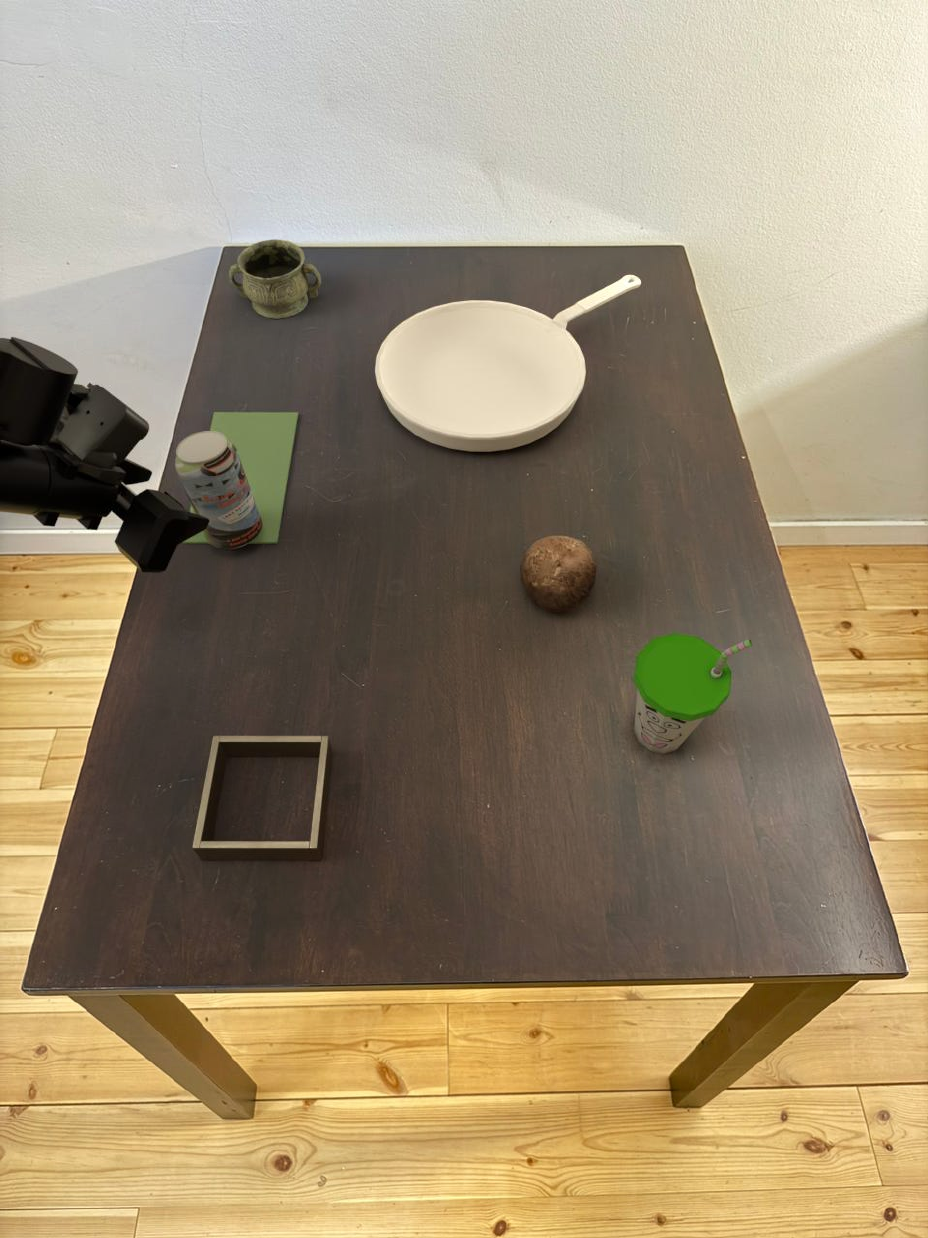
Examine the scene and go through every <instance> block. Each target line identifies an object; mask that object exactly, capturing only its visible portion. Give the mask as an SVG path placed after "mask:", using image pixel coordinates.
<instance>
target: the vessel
mask: <svg viewBox="0 0 928 1238" xmlns="http://www.w3.org/2000/svg"><path fill="white" fill-rule="evenodd" d="M304 262H305V253H304V251H303V249H302V248H301V247H300V246H298V244H296V243H294V242H292V241H289V240H282V239H277V238H276V239H268V240H267V239H266V240H261V241H258V242H255V243H253V244H251V245H249V246H248V247H246V248H244V249H243V250H242V251H241V252H240V254H239V255H238V257H237V263H235V264H231V266H230V268H229V271H228V278H229V281H230V283H231V285H232V286H233V287H234V288H235V289H237V291H238V296H240V297H241V298H248V299H249V300H250V301H251V307H252V309H253V310H254V311H255V312H256V313H257V314H258V315H260V316H262V317H264V318H267V319H274V320H277V319H286V318H287V319H288V318H290V317H292V316H296V315H298V314H299V313H300V312H302V311H304V309H305V308H306V307H307V305H308V303H309V299H308V295H309V297H310V299H311V298H312V299H315V298H317V297H318V296H319V292H318V289H319V288H320V287H321V284H322V277H321V273H320V272H319V270H318V269H317V268H316V267H315V266H314V265H313V264H311V263H304ZM235 274H242V283H239V282H237V281H236V280H235V277H234V276H235ZM309 274H310V275H312V276H314V277H315V283H312V284H310V278H309ZM307 293H308V294H307Z"/></svg>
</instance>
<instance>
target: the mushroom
mask: <svg viewBox="0 0 928 1238" xmlns="http://www.w3.org/2000/svg"><path fill="white" fill-rule="evenodd" d="M597 568H598V567H597V563H596V560H595V556H594V553H593V551H592V550H591V549H590V548H589V547H588V546H587V545H586V544H585V543H584V541H583V540H580V539H576V538H575V537H572V536H569V535H549V536H546V537H542V538H540V539H538V540H537V539H536V540H535V541H534V543H532V544H531V546H530V547H528V549H527V550H525V551H524V554H523V557H522V560H521V562H520V565H519V569H520V570H519V573H520V583H521V584H522V587H523V589H524V592H525V594H526V595H527V596H528V597H529V598H530V599H531V600H532V601H533V603H535V604H536V605H537V606H538V607H541V608H542V609H543V610H545V611H547V612H548V613H567V612H569V611H571V610H574V609H576V608H579V607H581V605H582V604H583V603H585V601H586V600H587V599H588V598H589V597H590V595H591V593H592V591H593V589H594V586H595V584H596V580H597V571H598V570H597Z"/></svg>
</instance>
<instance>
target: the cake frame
mask: <svg viewBox="0 0 928 1238" xmlns="http://www.w3.org/2000/svg"><path fill="white" fill-rule="evenodd" d="M333 751H334V750H333V748H332V744H331V741H330V737H329V736H328V735H213V736H212V740H211V748H210V752H209V756H208V761H207V762H208V763H207V767H206V772H205V778H204V783H203V788H202V795H201V798H200V799H201V800H200V805H199V810H198V815H197V821H196V826H195V832H194V837H193V841H192V850H193V851H194V852H195V853H196V855H197V856H198V857H199V859H200V860H201V861H322V860H323V853H324V844H325V843H324V842H325V834H326V833H325V832H326V823H327V813H328V802H329V794H330V793H329V792H330V781H331V771H332V763H333V761H332V760H333ZM227 757H228V758H229V757H231V758H233V757H239V758H241V757H247V758H248V757H249V758H253V757H254V758H255V757H256V758H257V757H261V758H262V757H263V758H265V757H267V758H268V757H269V758H270V757H271V758H273V757H275V758H276V757H279V758H281V757H282V758H285V757H287V758H288V757H289V758H290V757H291V758H292V757H294V758H297V757H299V758H301V757H302V758H303V757H305V758H307V757H308V758H311V757H312V758H316V757H317V758H318V767H317V776H316V786H315V795H314V803H313V813H312V814H313V815H312V822H311V832H310V839H309V840H298V841H297V840H213V838H214V837H213V836H214V831H215V825H216V820H217V813H218V809H219V802H220V797H221V792H222V785H223V779H224V774H225V769H226V768H225V767H226V763H227Z"/></svg>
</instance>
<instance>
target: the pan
mask: <svg viewBox="0 0 928 1238" xmlns="http://www.w3.org/2000/svg"><path fill="white" fill-rule="evenodd" d="M641 284H642V282H641V279H640V277H638V276H636V275H633V274H627V275H623V277H622V278H620V279H619V280H617V281H615V282H613V283H612V284H610V285H607V286H606V287H604V288H602V289H600V290H598V291H596V292H594V293H592V294H590V295H588V296H586V297H585V298H583V299H580V300H578V301H577V302H575V303H574V304H573V305H571V306H570V307H567V308H565V309H564V310H561V311H560V312H558V313H556V315H554V317H553V318H551V317H549V316H547V315H545V314H544V313H541V312H539V311H536V310H534V309H532V308H529V307H525V306H522V305H519V304H514V303H511V302H506V301H505V302H504V301H496V300H481V299H480V300H477V299H476V300H470V299H469V300H461V301H453V302H448V303H444V304H440V305H435V306H432V307H430V308H427V309H424V310H422V311H419V312H417V313H415V314H414V315H411V316H410V317H408V318H407V319H405V320H403V321H402V322H400V323H399V324H398V325H397V326H396V327H394V329H392V330H391V331H390V332H389V334H388V335H387V336H386V337H385V339H384V340H383V342H382V343H381V345H380V347H379V350H378V352H377V354H376V357H375V365H374V366H375V367H374V373H375V380H376V384H377V387H378V389H379V391H380V393H381V397H382V398H383V400H384V402H385V404H386V406H387V408H388V410H389V411H390V413H391V414H392V416H393V417H395V419H396V420H397V421H398V422H399V423H400V425H402V426H403V427H404V428H406V429H407V430H408V431H410V432H411V433H412V434H413V435H415V436H416V437H419V438H420V439H423V440H424V441H427V442H429V443H431V444H434V445H437V446H441V447H444V448H446V449H447V448H448V449H451V450H457V451H465V452H479V453H480V452H481V453H482V452H483V453H484V452H488V453H489V452H497V451H506V450H511V449H515V448H518V447H521V446H525V445H528V444H531V443H533V442H535V441H537V440H539V439H541V438H544V437H545V436H547V435H548V434H549V433H551V432H552V431H553V430H555V429H557V428H559V426H560V425H561V424H562V422H563V421H564V420H565V419H566V418H567V417H568V416H569V415H570V413H571V412H572V410H573V408H574V406H575V404H576V402H577V400H578V399H579V396H580V394H581V392H582V391H583V388H584V386H585V380H586V376H587V374H586V373H587V370H586V369H587V368H586V361H585V356H584V354H583V352H582V349H581V347H580V345H579V343H577V341H576V339H575V338H574V336H573V335H572V334H571V333H570V332H569V331H568V330H567V326H568V323H569V322H570V321H572V320H575V319H576V318H578V317H580V316H582V315H584V314H587V313H589V312H592V311H594V310H595V309H597V308H599V307H601V306H603V305H604V304H607V303H609V302H610V301H612V300H614V299H617V298H618V297H620V296H622V295H623V294H625V293H627V292H629V291H632V290H636V289H638V288H639V287H640V286H641Z"/></svg>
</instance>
